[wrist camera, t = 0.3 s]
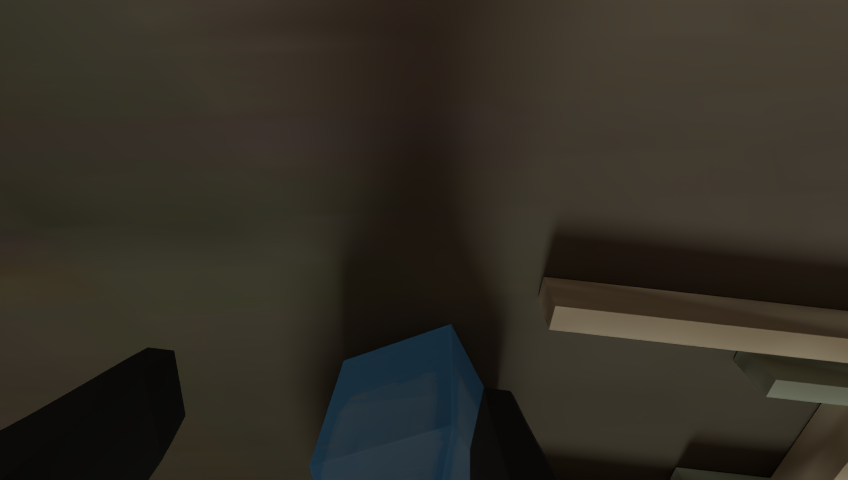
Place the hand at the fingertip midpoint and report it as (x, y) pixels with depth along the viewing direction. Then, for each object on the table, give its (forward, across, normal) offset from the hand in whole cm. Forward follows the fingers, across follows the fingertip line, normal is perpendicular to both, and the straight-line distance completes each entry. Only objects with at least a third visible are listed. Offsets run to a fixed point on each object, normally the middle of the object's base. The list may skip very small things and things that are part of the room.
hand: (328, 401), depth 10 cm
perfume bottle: (+10, -3, +9) cm, 14 cm away
